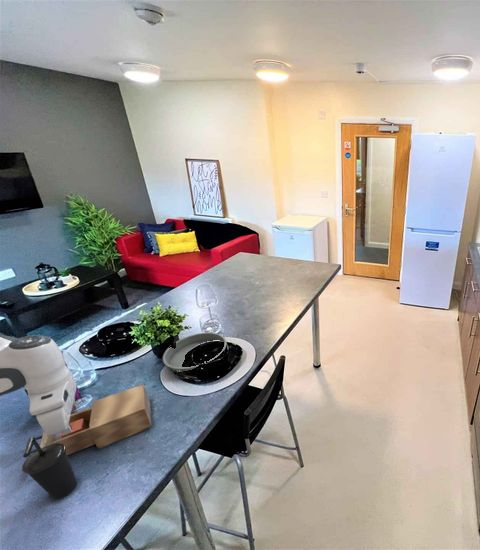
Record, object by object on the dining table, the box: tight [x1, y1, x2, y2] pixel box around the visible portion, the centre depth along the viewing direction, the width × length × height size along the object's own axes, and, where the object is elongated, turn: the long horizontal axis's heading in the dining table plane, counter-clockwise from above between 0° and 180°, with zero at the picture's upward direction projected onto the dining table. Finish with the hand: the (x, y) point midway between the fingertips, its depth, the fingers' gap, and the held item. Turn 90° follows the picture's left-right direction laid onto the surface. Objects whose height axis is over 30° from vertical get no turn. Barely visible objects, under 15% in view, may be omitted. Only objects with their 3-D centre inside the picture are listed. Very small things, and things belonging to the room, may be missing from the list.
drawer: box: [22, 406, 96, 458], centre depth 88 cm, size 17×11×7 cm
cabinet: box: [89, 384, 152, 450], centre depth 96 cm, size 14×13×9 cm
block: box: [60, 418, 88, 439], centre depth 89 cm, size 5×5×5 cm
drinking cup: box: [21, 439, 78, 500], centre depth 75 cm, size 8×8×20 cm
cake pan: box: [162, 332, 228, 373], centre depth 128 cm, size 25×25×4 cm
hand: (70, 420), depth 88 cm, fingers open, 8 cm apart
